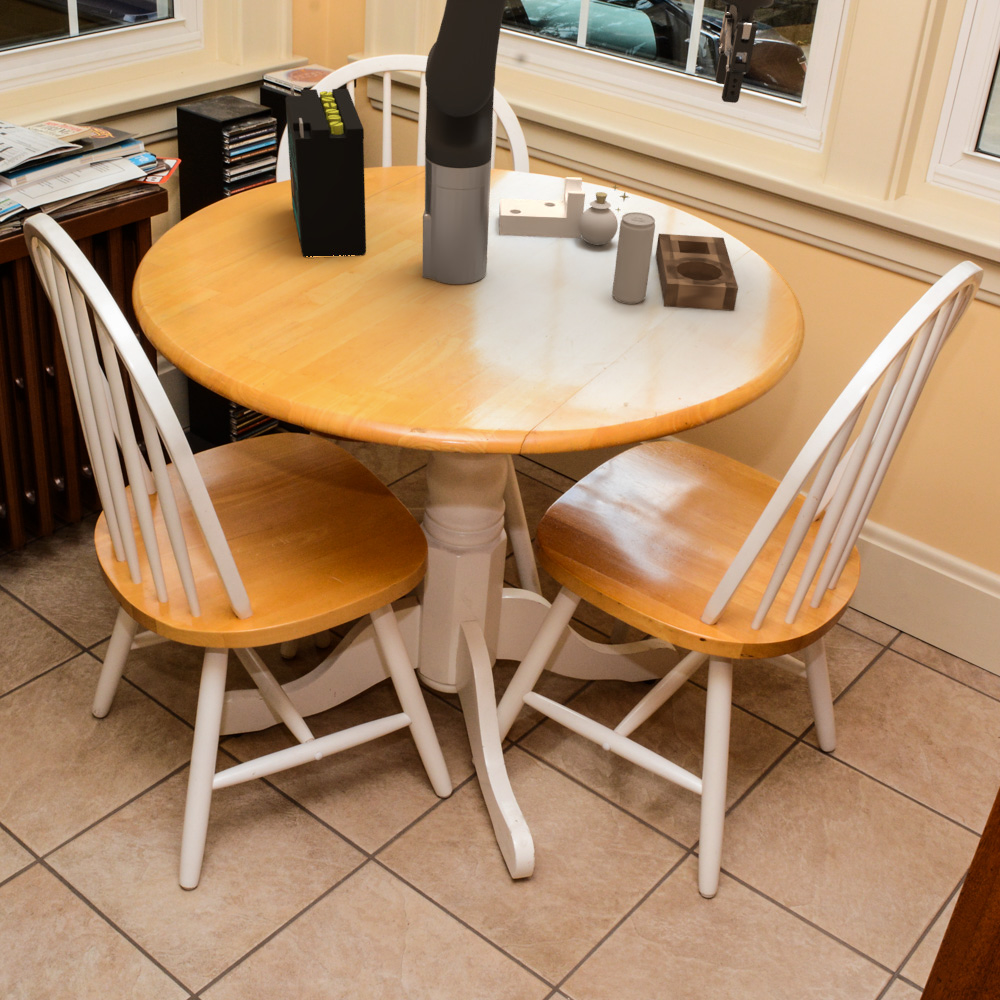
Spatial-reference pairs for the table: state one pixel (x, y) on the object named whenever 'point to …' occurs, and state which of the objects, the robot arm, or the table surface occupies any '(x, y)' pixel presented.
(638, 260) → the beverage can
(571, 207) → the bracket
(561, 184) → the table surface
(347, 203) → the battery
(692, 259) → the walnut bore block
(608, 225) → the round potion bottle
